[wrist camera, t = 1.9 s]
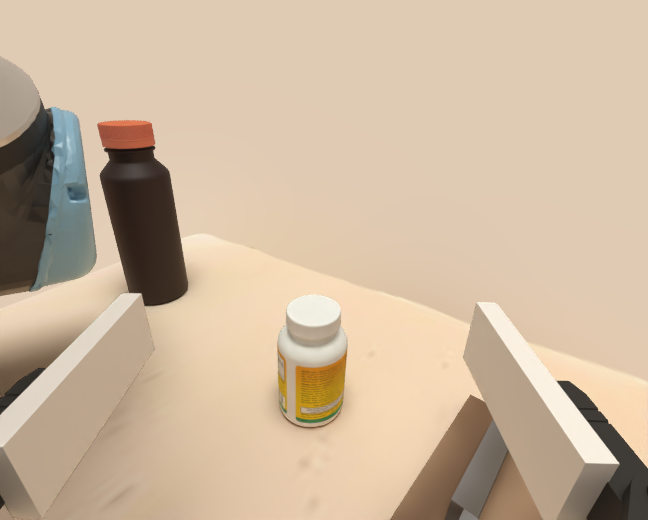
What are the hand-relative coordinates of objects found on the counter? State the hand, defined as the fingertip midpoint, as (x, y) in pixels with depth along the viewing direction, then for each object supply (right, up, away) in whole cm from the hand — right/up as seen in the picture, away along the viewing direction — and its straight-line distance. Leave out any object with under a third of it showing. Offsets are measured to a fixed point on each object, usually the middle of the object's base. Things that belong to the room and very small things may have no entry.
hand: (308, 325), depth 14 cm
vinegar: (-20, -2, +31) cm, 37 cm away
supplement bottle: (0, -10, +16) cm, 19 cm away
